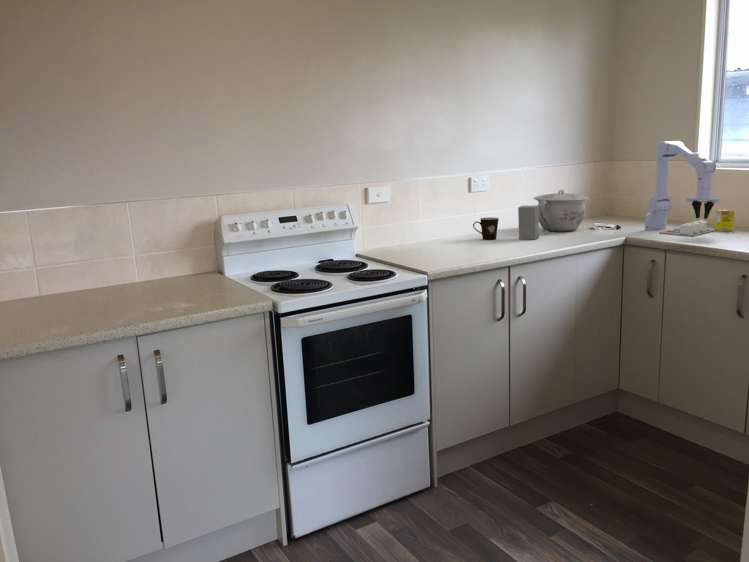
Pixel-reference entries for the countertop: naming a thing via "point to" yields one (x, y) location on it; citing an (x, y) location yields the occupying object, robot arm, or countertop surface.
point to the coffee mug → (488, 228)
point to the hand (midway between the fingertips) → (701, 218)
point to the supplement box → (724, 220)
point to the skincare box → (528, 222)
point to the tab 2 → (702, 225)
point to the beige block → (695, 227)
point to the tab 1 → (686, 229)
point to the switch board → (675, 231)
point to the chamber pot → (561, 211)
